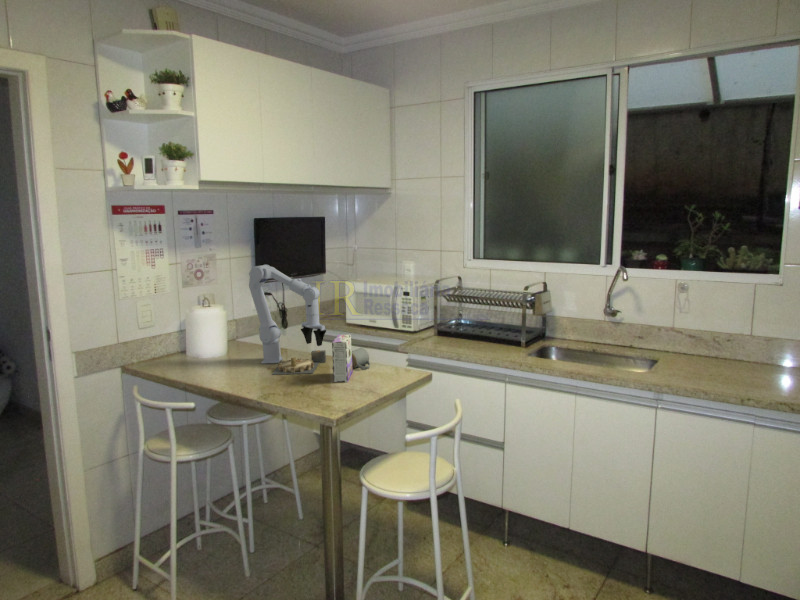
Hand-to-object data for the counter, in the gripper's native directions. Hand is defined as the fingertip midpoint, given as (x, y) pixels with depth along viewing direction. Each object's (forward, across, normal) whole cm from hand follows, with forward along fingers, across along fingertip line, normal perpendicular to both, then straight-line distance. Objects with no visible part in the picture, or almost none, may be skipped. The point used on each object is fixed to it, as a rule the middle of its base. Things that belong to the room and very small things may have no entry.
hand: (314, 344), depth 245 cm
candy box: (+9, +28, -7) cm, 30 cm away
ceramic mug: (+9, +21, +8) cm, 24 cm away
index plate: (+8, +2, -11) cm, 14 cm away
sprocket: (+8, +2, -11) cm, 14 cm away
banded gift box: (+9, 0, +2) cm, 9 cm away
